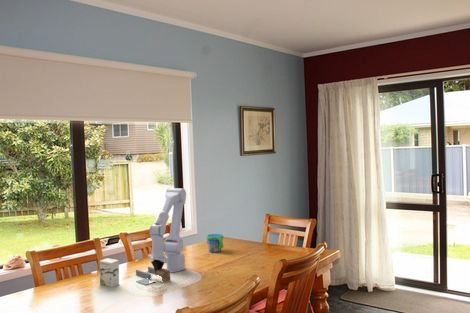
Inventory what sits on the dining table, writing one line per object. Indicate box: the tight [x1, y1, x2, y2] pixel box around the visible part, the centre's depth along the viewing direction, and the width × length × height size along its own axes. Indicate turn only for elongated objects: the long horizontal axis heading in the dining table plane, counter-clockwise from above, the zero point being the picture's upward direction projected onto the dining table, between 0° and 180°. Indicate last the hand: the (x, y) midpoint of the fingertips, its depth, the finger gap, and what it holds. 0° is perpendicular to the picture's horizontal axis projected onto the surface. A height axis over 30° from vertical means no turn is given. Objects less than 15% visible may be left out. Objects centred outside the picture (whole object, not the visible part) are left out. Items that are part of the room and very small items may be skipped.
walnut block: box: [155, 267, 171, 283], centre depth 209 cm, size 4×6×5 cm
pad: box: [135, 278, 151, 286], centre depth 206 cm, size 6×8×1 cm
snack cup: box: [205, 233, 224, 254], centre depth 264 cm, size 16×10×10 cm
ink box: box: [99, 257, 120, 288], centre depth 204 cm, size 9×5×12 cm, turn 60°
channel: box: [135, 266, 156, 280], centre depth 217 cm, size 8×12×2 cm
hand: (158, 274), depth 212 cm, fingers closed
